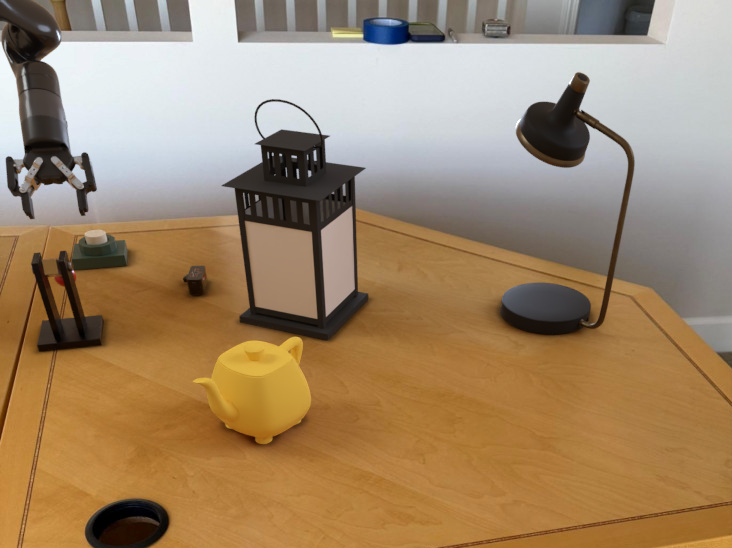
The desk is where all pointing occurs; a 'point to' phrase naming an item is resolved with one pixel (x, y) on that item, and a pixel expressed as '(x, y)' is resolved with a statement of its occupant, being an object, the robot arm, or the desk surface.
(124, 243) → the lamp box
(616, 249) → the lamp
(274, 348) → the teapot
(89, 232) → the button
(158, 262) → the desk surface
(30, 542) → the desk surface
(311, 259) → the lantern
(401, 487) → the desk surface
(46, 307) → the switch bracket
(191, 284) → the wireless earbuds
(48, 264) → the switch lever
